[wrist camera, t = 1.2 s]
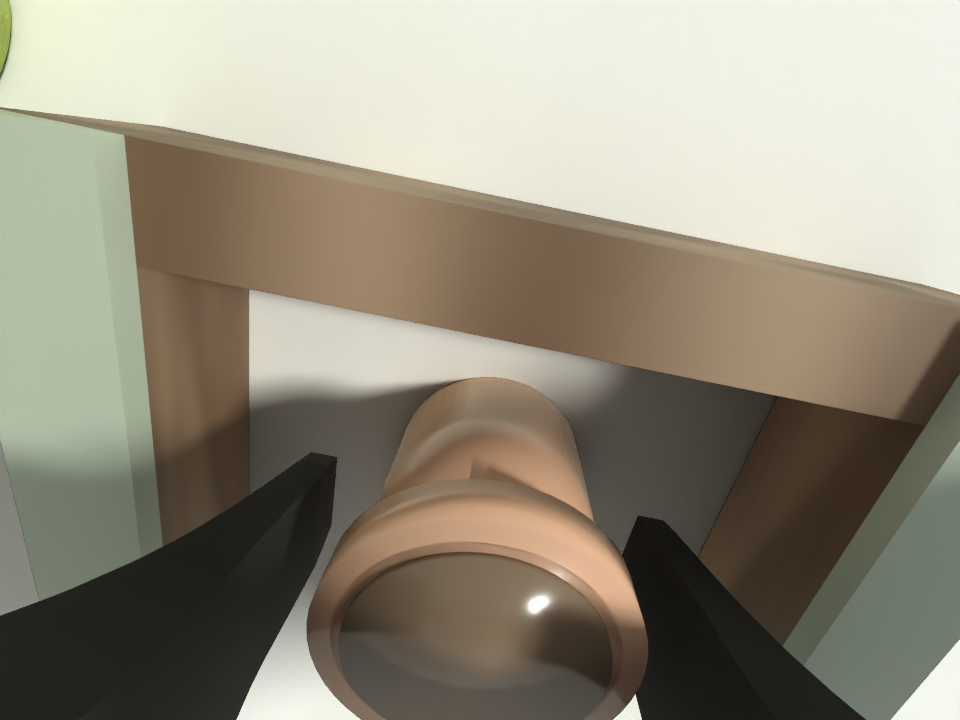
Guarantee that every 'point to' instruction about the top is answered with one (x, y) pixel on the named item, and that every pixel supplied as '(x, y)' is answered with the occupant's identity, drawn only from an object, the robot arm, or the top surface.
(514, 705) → the seedling pot
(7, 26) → the plant pot
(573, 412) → the top surface
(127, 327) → the green brown u-shaped frame
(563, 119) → the top surface
